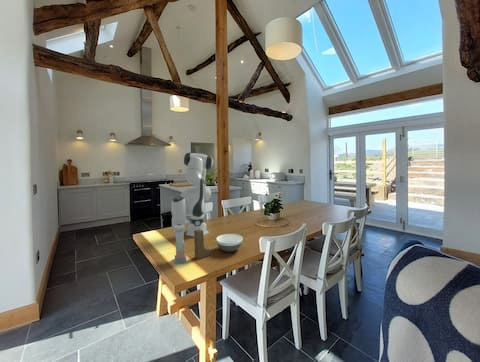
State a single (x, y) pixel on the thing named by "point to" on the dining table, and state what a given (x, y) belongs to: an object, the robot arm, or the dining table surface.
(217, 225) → the dining table surface
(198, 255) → the wooden block
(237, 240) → the bowl
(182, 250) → the sage green cube
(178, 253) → the pinkish brown cube
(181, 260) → the slate blue block
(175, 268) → the dining table surface
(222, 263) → the dining table surface
